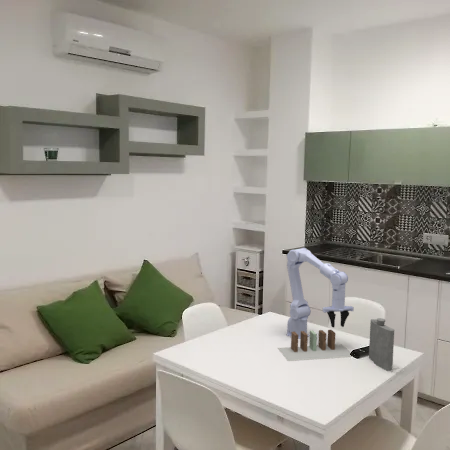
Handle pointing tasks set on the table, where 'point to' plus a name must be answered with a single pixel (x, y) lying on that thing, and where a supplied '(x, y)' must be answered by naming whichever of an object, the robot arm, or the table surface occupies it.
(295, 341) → the domino
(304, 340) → the domino
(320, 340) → the domino
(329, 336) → the domino
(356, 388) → the table surface
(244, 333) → the table surface
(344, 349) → the grey mat
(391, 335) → the hip flask
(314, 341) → the sage domino
